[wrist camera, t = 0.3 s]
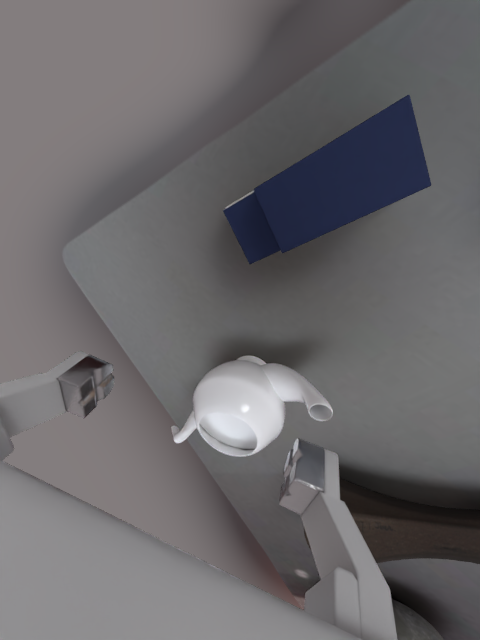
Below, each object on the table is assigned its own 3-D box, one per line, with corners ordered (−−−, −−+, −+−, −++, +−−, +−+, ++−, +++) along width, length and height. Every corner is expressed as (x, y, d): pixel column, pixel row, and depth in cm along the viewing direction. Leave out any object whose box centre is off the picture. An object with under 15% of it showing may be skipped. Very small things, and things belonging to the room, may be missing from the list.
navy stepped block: (389, 110, 18) (412, 84, 13) (409, 186, 19) (437, 188, 14) (231, 206, 23) (205, 213, 19) (256, 258, 25) (238, 277, 20)
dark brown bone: (302, 473, 41) (523, 474, 33) (310, 564, 35) (583, 591, 27) (291, 463, 32) (583, 462, 25) (299, 581, 26) (690, 626, 19)
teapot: (173, 367, 35) (129, 420, 27) (308, 306, 26) (299, 361, 18) (213, 417, 38) (184, 479, 30) (350, 378, 28) (359, 455, 20)
